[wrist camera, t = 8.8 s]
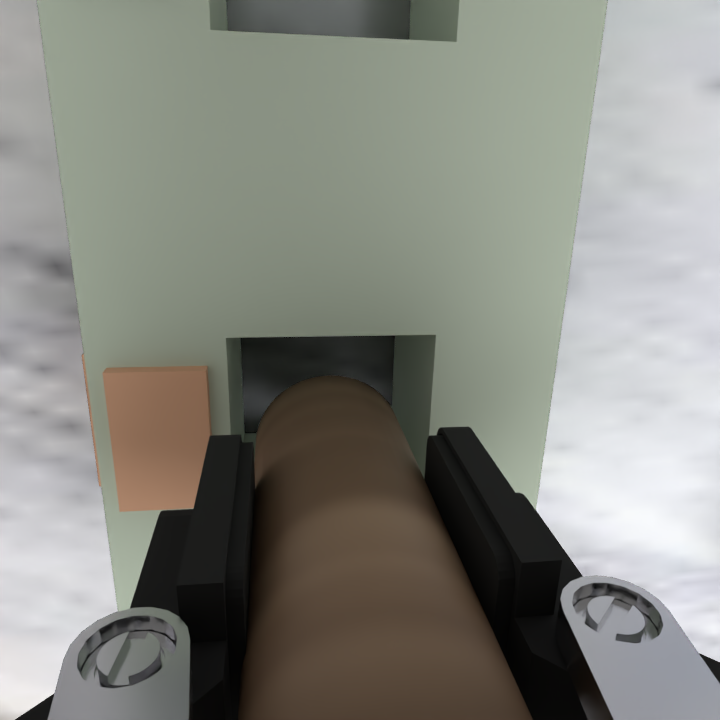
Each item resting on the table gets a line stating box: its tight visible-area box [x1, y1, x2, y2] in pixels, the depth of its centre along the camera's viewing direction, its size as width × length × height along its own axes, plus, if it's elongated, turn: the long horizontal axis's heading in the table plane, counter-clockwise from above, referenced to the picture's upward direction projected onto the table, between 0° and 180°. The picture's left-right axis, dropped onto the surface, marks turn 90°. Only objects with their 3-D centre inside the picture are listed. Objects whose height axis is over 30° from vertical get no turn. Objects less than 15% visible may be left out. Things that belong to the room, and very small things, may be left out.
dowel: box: [238, 375, 533, 720], centre depth 9 cm, size 3×3×10 cm
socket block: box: [37, 0, 608, 611], centre depth 14 cm, size 20×10×5 cm, turn 179°
